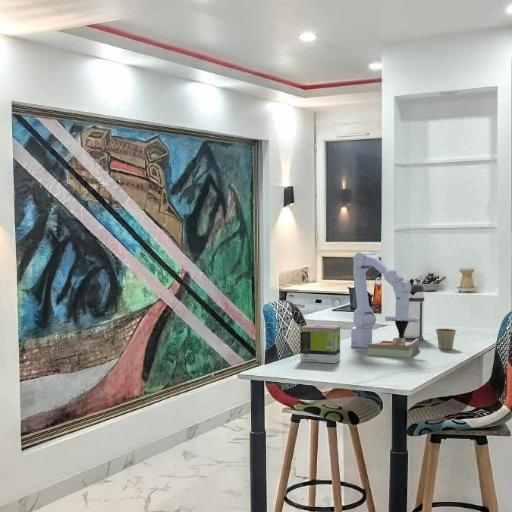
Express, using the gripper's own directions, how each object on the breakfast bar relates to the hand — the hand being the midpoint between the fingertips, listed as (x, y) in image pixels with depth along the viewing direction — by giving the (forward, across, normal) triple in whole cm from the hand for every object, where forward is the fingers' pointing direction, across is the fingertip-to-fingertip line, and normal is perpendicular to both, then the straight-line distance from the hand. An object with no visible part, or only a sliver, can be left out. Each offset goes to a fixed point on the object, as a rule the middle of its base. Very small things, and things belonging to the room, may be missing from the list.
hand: (401, 337), depth 352 cm
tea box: (+7, +27, +34) cm, 44 cm away
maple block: (+4, 0, +8) cm, 9 cm away
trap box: (+7, +3, -1) cm, 8 cm away
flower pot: (+7, -17, -21) cm, 28 cm away
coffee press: (+7, +4, -46) cm, 47 cm away
